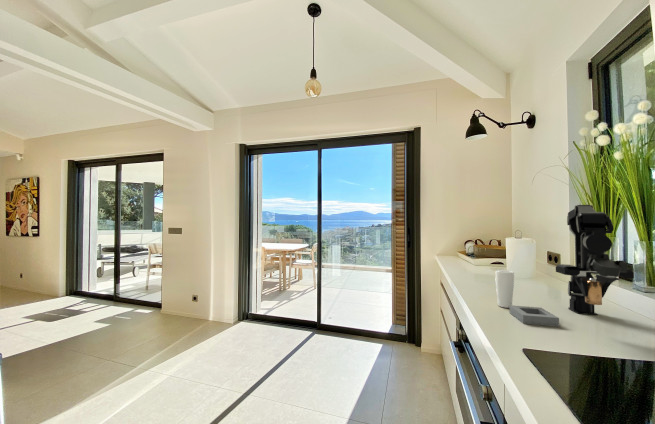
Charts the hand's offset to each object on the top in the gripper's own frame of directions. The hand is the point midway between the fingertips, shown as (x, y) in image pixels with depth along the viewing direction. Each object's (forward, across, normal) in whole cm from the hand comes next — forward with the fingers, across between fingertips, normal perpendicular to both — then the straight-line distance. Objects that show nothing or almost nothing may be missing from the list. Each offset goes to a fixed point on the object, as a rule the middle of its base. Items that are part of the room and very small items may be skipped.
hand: (593, 296), depth 89 cm
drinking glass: (+12, -18, +22) cm, 31 cm away
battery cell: (+2, 0, 0) cm, 2 cm away
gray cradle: (+12, -14, +8) cm, 20 cm away
